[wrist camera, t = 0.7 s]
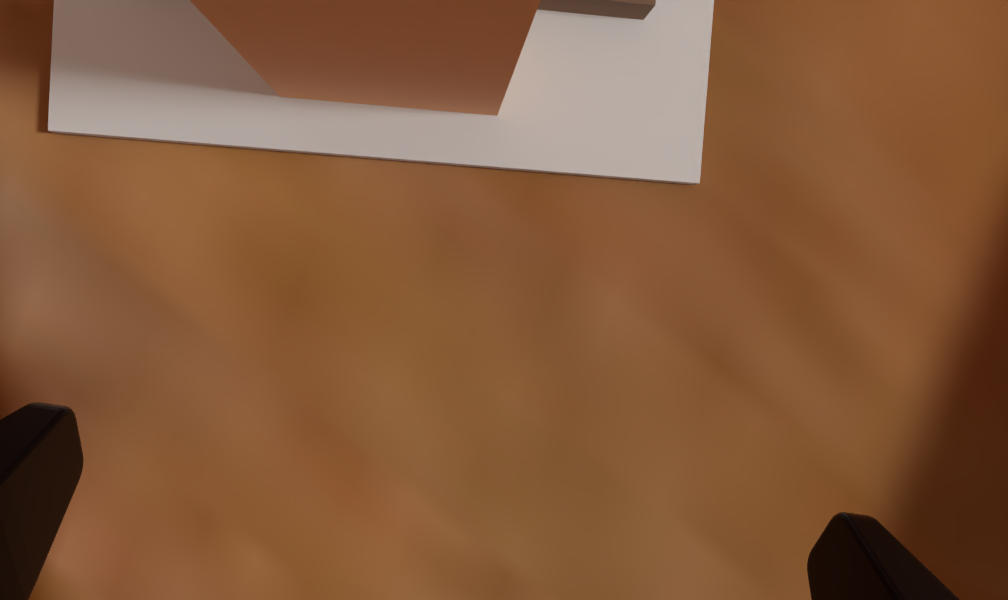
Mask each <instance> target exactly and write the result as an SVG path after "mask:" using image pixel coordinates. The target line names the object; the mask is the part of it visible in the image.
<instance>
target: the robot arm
mask: <svg viewBox="0 0 1008 600" xmlns="http://www.w3.org/2000/svg"><path fill="white" fill-rule="evenodd" d="M82 469H83V452H82V447H81V442H80V437H79V432H78V426H77V421H76V417H75V414H74V412H73V411H72V409H71V408H69V407H66V406H60V405H53V404H46V403H31V404H28V405H26V406H24V407H22V408H20V409H18V410H17V411H15V412H13V413H12V414H10V415H8V416H6V417H5V418H3V419H1V420H0V600H28V599H29V597H30V595H31V593H32V590H33V588H34V586H35V584H36V581H37V579H38V577H39V574H40V572H41V570H42V567H43V565H44V562H45V560H46V558H47V555H48V553H49V551H50V548H51V546H52V543H53V541H54V539H55V536H56V534H57V532H58V529H59V527H60V524H61V522H62V520H63V517H64V515H65V513H66V510H67V508H68V505H69V503H70V501H71V498H72V496H73V494H74V491H75V489H76V486H77V484H78V482H79V479H80V476H81V473H82ZM807 572H808V579H809V586H810V592H811V598H812V600H959V599H958V598H957V597H956V596H955V595H954V594H953V593H952V592H951V591H950V590H949V589H948V588H947V587H946V586H945V585H944V584H943V583H942V582H941V581H940V580H938V579H937V578H936V577H935V576H934V575H933V574H932V573H931V572H930V571H929V570H928V569H927V568H926V567H925V566H924V565H923V564H922V563H921V562H920V561H919V560H918V559H917V558H916V557H915V556H914V555H913V554H911V553H910V552H909V551H908V550H907V549H906V548H905V547H904V546H903V545H902V544H901V543H900V542H899V541H898V540H897V539H896V538H895V537H894V536H893V535H892V534H891V533H890V532H889V531H888V530H887V529H886V528H884V527H883V526H882V525H881V524H880V523H879V522H878V521H877V520H876V519H874V518H873V517H870V516H867V515H860V514H853V513H846V512H841V513H838V514H836V515H835V516H833V518H832V519H831V520H830V522H829V523H828V525H827V527H826V528H825V530H824V531H823V533H822V534H821V536H820V537H819V539H818V541H817V542H816V544H815V545H814V547H813V548H812V550H811V552H810V554H809V558H808V563H807Z"/></svg>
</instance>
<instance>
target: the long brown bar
mask: <svg viewBox="0 0 1008 600" xmlns="http://www.w3.org/2000/svg"><path fill="white" fill-rule="evenodd" d="M655 3H656V0H540V3H539V6H538V8H537V9H538V10H548V11H558V12H568V13H578V14H588V15H599V16H609V17H619V18H629V19H639V20H644V19H645V17H646V16H647V15H648V14H649V13H650V11H651V10H652V9H653V8H654V6H655Z"/></svg>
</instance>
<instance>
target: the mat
mask: <svg viewBox="0 0 1008 600" xmlns="http://www.w3.org/2000/svg"><path fill="white" fill-rule="evenodd" d="M713 5H714V0H656V3H655V6H654V8H653V9H652V10H651V11H650V13H649V14H648V15H647V16H646V17H645V19H644V20H639V19H629V18H619V17H609V16H599V15H588V14H578V13H568V12H558V11H548V10H538V9H537V11H536V14H535V16H534V19H533V22H532V24H531V27H530V30H529V32H528V35H527V38H526V40H525V43H524V46H523V48H522V51H521V54H520V56H519V59H518V62H517V64H516V67H515V70H514V72H513V75H512V78H511V80H510V83H509V86H508V88H507V91H506V94H505V96H504V99H503V102H502V105H501V107H500V110H499V113H498V115H497V116H496V115H484V114H473V113H461V112H450V111H438V110H427V109H415V108H404V107H392V106H381V105H369V104H358V103H346V102H335V101H323V100H312V99H300V98H289V97H280V96H279V95H278V94H277V93H276V92H275V91H274V90H273V89H272V88H271V87H270V86H269V85H268V83H267V82H266V81H265V80H264V79H263V78H262V77H261V76H260V75H259V74H258V73H257V72H256V71H255V70H254V68H253V67H252V66H251V65H250V64H249V63H248V62H247V61H246V60H245V59H244V58H243V57H242V56H241V54H240V53H239V52H238V51H237V50H236V49H235V48H234V47H233V46H232V45H231V44H230V43H229V42H228V41H227V39H226V38H225V37H224V36H223V35H222V34H221V33H220V32H219V31H218V30H217V29H216V28H215V27H214V26H213V24H212V23H211V22H210V21H209V20H208V19H207V18H206V17H205V16H204V15H203V14H202V13H201V12H200V11H199V9H198V8H197V7H196V6H195V5H194V4H193V3H192V2H191V1H190V0H54V9H53V30H52V51H51V72H50V93H49V114H48V131H51V132H54V133H60V134H73V135H85V136H97V137H110V138H122V139H135V140H147V141H159V142H172V143H184V144H196V145H209V146H221V147H233V148H246V149H258V150H270V151H283V152H295V153H308V154H320V155H332V156H345V157H357V158H369V159H382V160H394V161H406V162H419V163H431V164H443V165H456V166H468V167H481V168H493V169H505V170H518V171H530V172H542V173H555V174H567V175H579V176H592V177H604V178H616V179H629V180H641V181H654V182H666V183H678V184H691V185H696V184H699V183H700V172H701V159H702V146H703V133H704V121H705V108H706V95H707V82H708V69H709V56H710V44H711V31H712V18H713Z"/></svg>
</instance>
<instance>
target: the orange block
mask: <svg viewBox="0 0 1008 600" xmlns="http://www.w3.org/2000/svg"><path fill="white" fill-rule="evenodd" d="M190 1H191V2H192V3H193V4H194V5H195V6H196V7H197V8H198V9H199V11H200V12H201V13H202V14H203V15H204V16H205V17H206V18H207V19H208V20H209V21H210V22H211V23H212V24H213V26H214V27H215V28H216V29H217V30H218V31H219V32H220V33H221V34H222V35H223V36H224V37H225V38H226V39H227V41H228V42H229V43H230V44H231V45H232V46H233V47H234V48H235V49H236V50H237V51H238V52H239V53H240V54H241V56H242V57H243V58H244V59H245V60H246V61H247V62H248V63H249V64H250V65H251V66H252V67H253V68H254V70H255V71H256V72H257V73H258V74H259V75H260V76H261V77H262V78H263V79H264V80H265V81H266V82H267V83H268V85H269V86H270V87H271V88H272V89H273V90H274V91H275V92H276V93H277V94H278V95H279V96H280V97H289V98H300V99H312V100H323V101H335V102H346V103H358V104H369V105H381V106H392V107H404V108H415V109H427V110H438V111H450V112H461V113H473V114H484V115H496V116H497V115H498V113H499V110H500V107H501V105H502V102H503V99H504V96H505V94H506V91H507V88H508V86H509V83H510V80H511V78H512V75H513V72H514V70H515V67H516V64H517V62H518V59H519V56H520V54H521V51H522V48H523V46H524V43H525V40H526V38H527V35H528V32H529V30H530V27H531V24H532V22H533V19H534V16H535V14H536V11H537V8H538V6H539V3H540V0H190Z"/></svg>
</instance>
